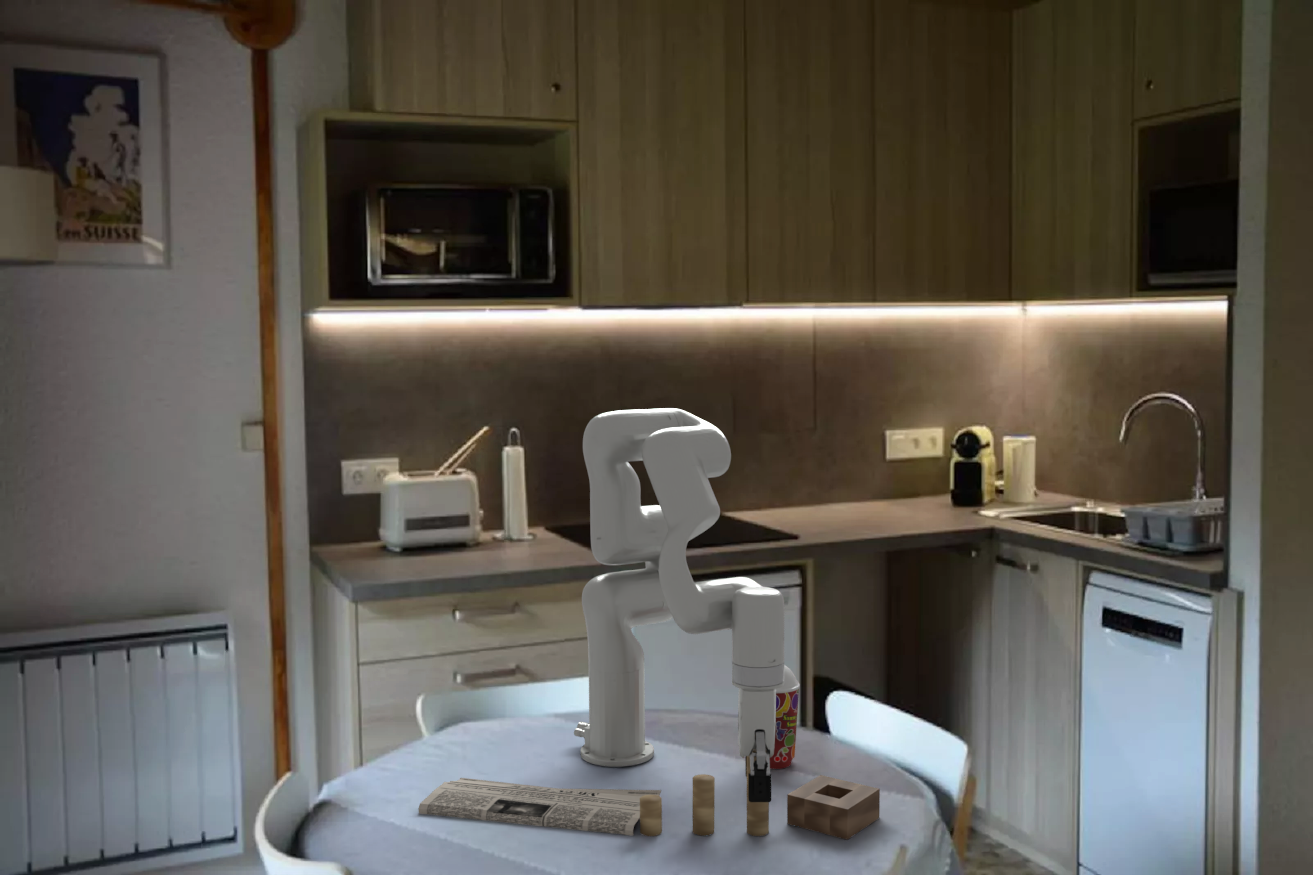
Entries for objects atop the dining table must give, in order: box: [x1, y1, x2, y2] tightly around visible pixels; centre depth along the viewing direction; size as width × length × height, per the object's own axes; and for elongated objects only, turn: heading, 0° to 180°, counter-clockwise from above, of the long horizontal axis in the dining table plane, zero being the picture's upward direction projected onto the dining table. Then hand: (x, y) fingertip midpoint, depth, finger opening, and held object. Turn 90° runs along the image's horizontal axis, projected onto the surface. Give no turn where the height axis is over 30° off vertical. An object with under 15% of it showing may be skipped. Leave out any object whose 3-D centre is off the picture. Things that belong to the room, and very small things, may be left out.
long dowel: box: [746, 737, 770, 837], centre depth 189 cm, size 3×3×14 cm
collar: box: [786, 774, 881, 841], centre depth 193 cm, size 10×10×4 cm
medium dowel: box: [692, 773, 716, 837], centre depth 189 cm, size 3×3×8 cm
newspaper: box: [417, 777, 662, 836], centre depth 198 cm, size 35×12×4 cm, turn 75°
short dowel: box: [639, 795, 663, 837], centre depth 189 cm, size 3×3×5 cm
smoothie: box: [769, 664, 801, 770], centre depth 217 cm, size 8×8×20 cm
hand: (758, 789), depth 189 cm, fingers open, 9 cm apart
